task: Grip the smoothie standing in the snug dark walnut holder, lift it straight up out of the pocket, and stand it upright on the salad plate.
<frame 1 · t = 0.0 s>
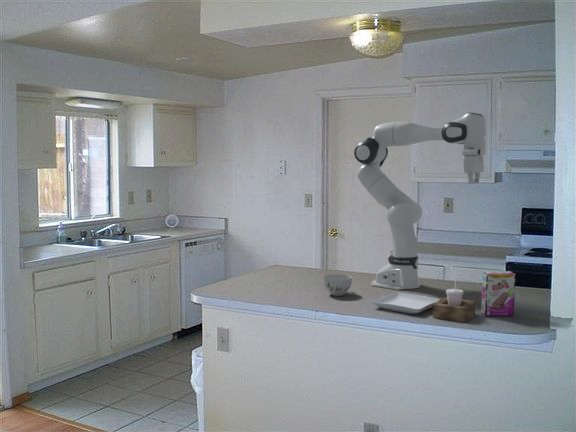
hand: (473, 183, 260), 48 cm above the countertop, tool pointing down, fingers open, 8 cm apart
walnut holder: (454, 315, 229), on the countertop
teacup: (339, 294, 267), on the countertop
salad plate: (407, 308, 243), on the countertop
smoothie: (454, 316, 229), resting in walnut holder
candy bar box: (497, 315, 230), on the countertop
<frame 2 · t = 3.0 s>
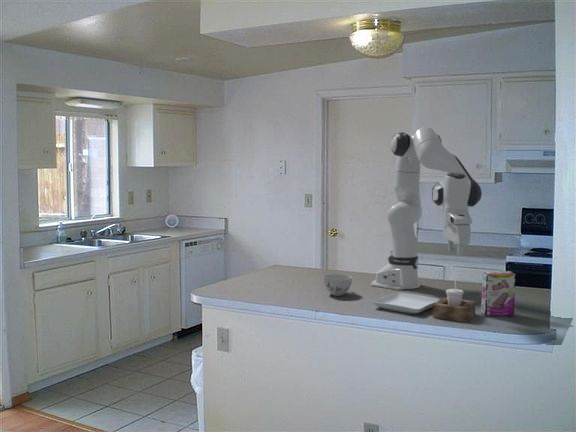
hand: (455, 253, 227), 24 cm above the countertop, tool pointing down, fingers open, 8 cm apart
nothing on the countertop moved.
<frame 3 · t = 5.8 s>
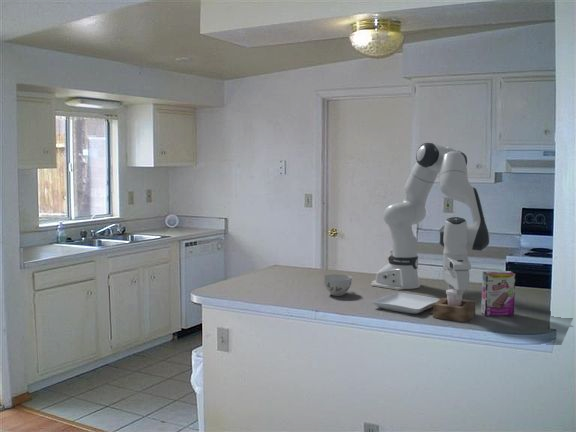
hand: (454, 297, 228), 7 cm above the countertop, tool pointing down, fingers closed on smoothie, 6 cm apart
smoothie: (454, 316, 229), resting in walnut holder, touching gripper
everything else where it was.
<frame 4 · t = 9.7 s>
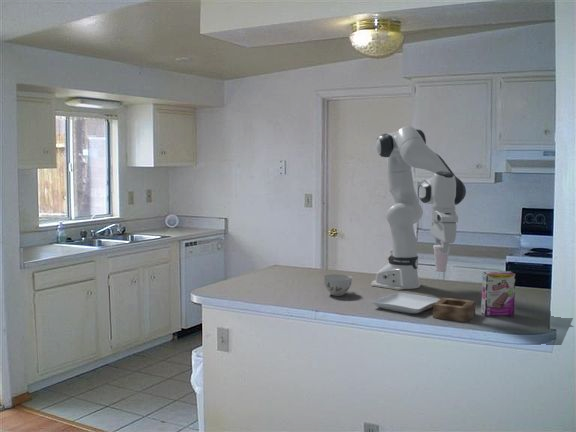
hand: (441, 250, 231), 24 cm above the countertop, tool pointing down, fingers closed on smoothie, 6 cm apart
smoothie: (440, 271, 232), point 16 cm above the countertop, touching gripper
everything else where it was.
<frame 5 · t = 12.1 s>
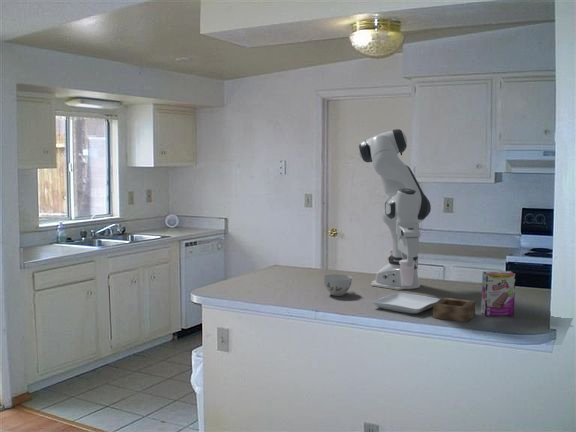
hand: (407, 264, 241), 17 cm above the countertop, tool pointing down, fingers closed on smoothie, 6 cm apart
smoothie: (407, 285, 242), point 9 cm above the countertop, touching gripper
everything else where it was.
when the fingers open (12 cm above the countertop, at t = 14.1 s): smoothie stays where it is, resting on salad plate.
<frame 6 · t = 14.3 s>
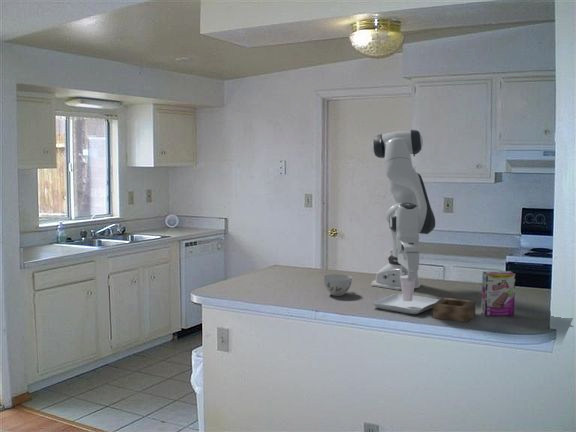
hand: (407, 278, 242), 12 cm above the countertop, tool pointing down, fingers open, 8 cm apart
salad plate: (406, 309, 243), on the countertop, touching smoothie
smoothie: (407, 300, 243), point 2 cm above the countertop, touching salad plate
everything else where it was.
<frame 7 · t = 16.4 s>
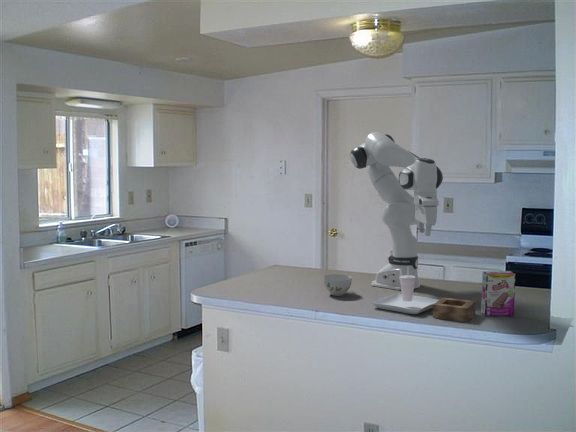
hand: (424, 234, 242), 29 cm above the countertop, tool pointing down, fingers open, 8 cm apart
nothing on the countertop moved.
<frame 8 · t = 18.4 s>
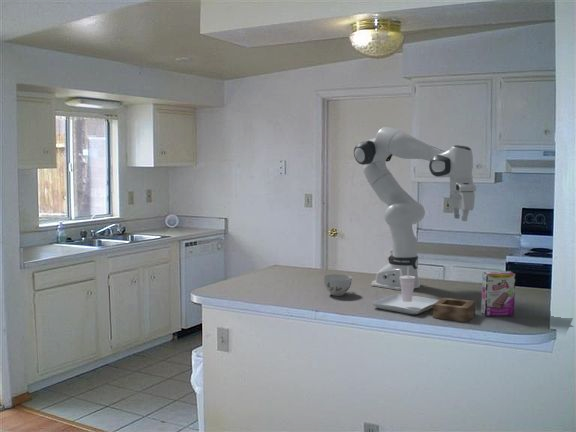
hand: (460, 219, 246), 34 cm above the countertop, tool pointing down, fingers open, 8 cm apart
nothing on the countertop moved.
at the end: smoothie 0.2 cm from the salad plate (horizontally); smoothie point 2.4 cm above the countertop; smoothie tilted 0° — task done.
